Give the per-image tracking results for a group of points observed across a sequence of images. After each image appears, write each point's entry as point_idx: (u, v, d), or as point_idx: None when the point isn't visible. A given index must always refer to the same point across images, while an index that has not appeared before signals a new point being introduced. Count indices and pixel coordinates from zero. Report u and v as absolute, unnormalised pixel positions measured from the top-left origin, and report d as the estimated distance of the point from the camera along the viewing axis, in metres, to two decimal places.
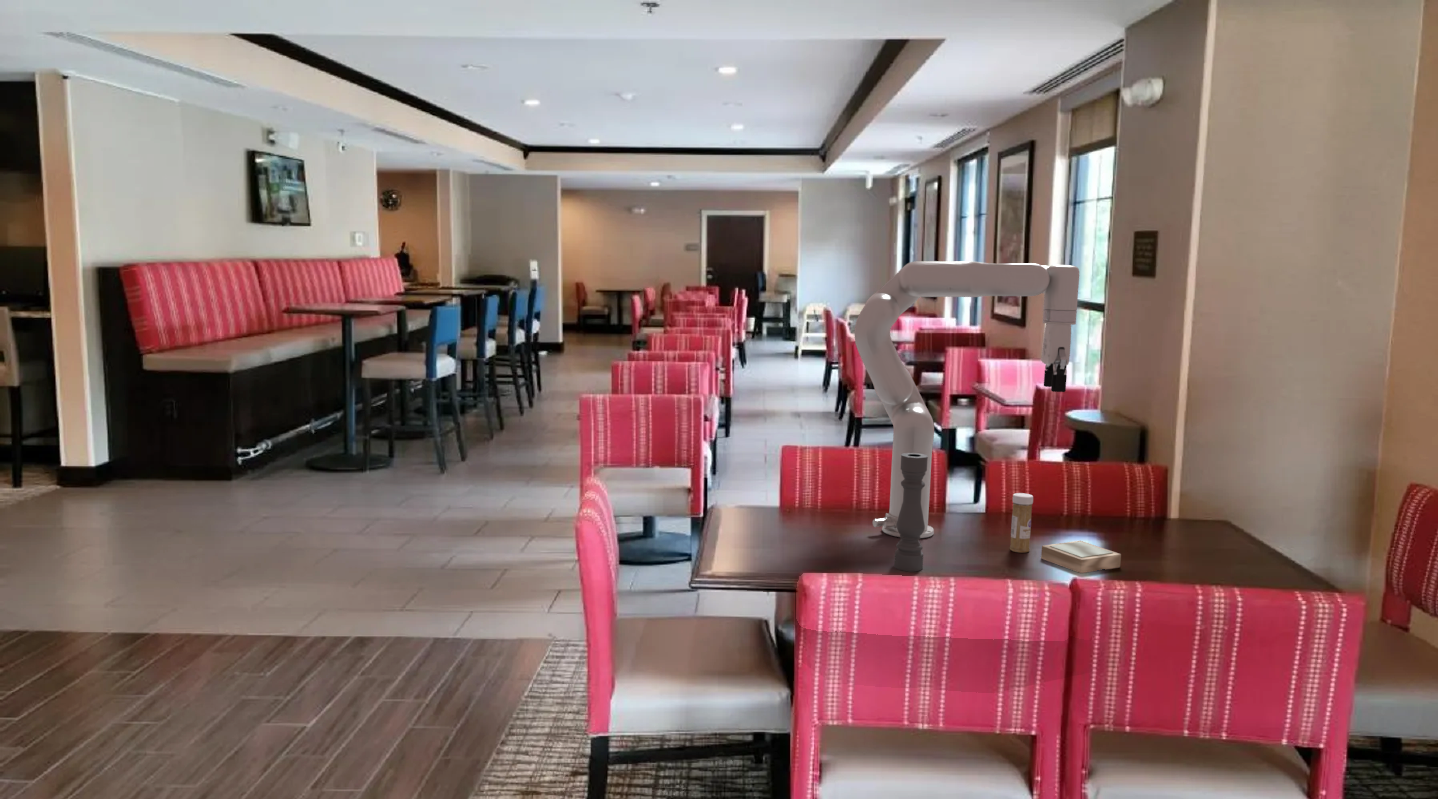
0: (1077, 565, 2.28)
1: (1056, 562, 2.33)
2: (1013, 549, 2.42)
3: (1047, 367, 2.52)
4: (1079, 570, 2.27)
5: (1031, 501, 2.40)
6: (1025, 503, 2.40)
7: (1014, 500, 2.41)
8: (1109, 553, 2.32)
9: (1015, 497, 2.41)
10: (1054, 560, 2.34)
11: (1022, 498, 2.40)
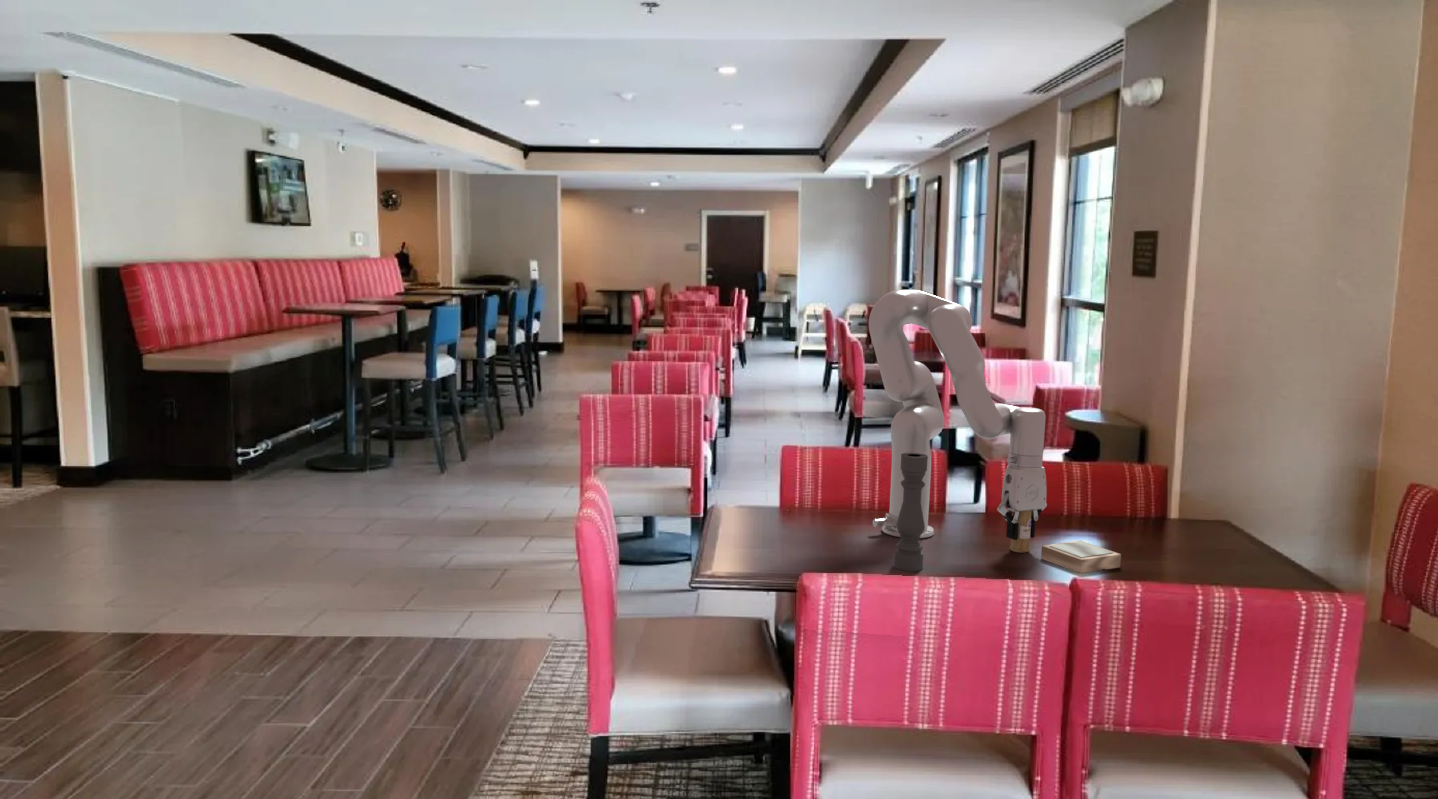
0: (1077, 565, 2.28)
1: (1056, 562, 2.33)
2: (1013, 549, 2.42)
3: None
4: (1079, 570, 2.27)
5: None
6: None
7: None
8: (1109, 553, 2.32)
9: None
10: (1054, 560, 2.34)
11: None
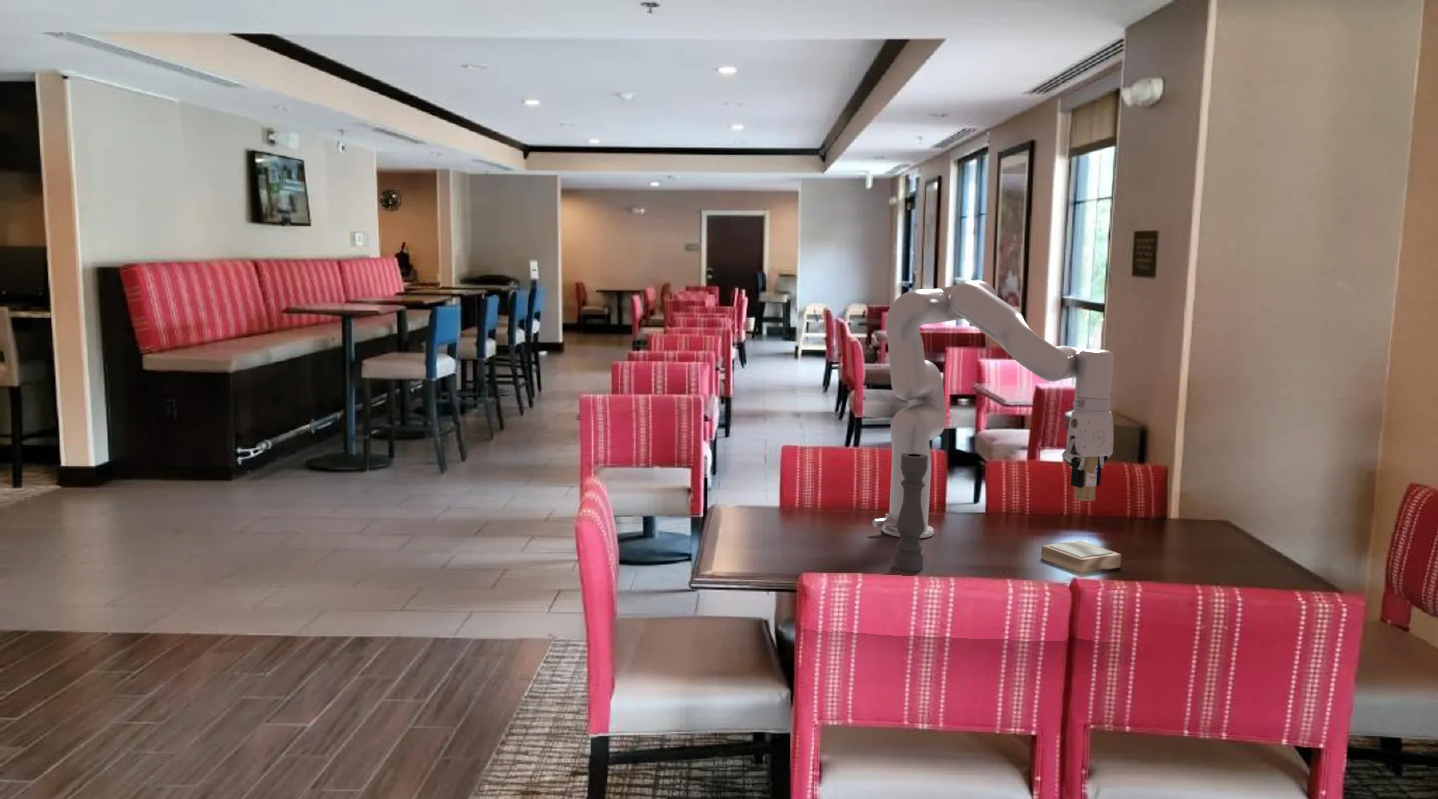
0: (1077, 565, 2.28)
1: (1056, 562, 2.33)
2: (1078, 497, 2.32)
3: None
4: (1079, 570, 2.27)
5: None
6: None
7: None
8: (1109, 553, 2.32)
9: None
10: (1054, 560, 2.34)
11: None
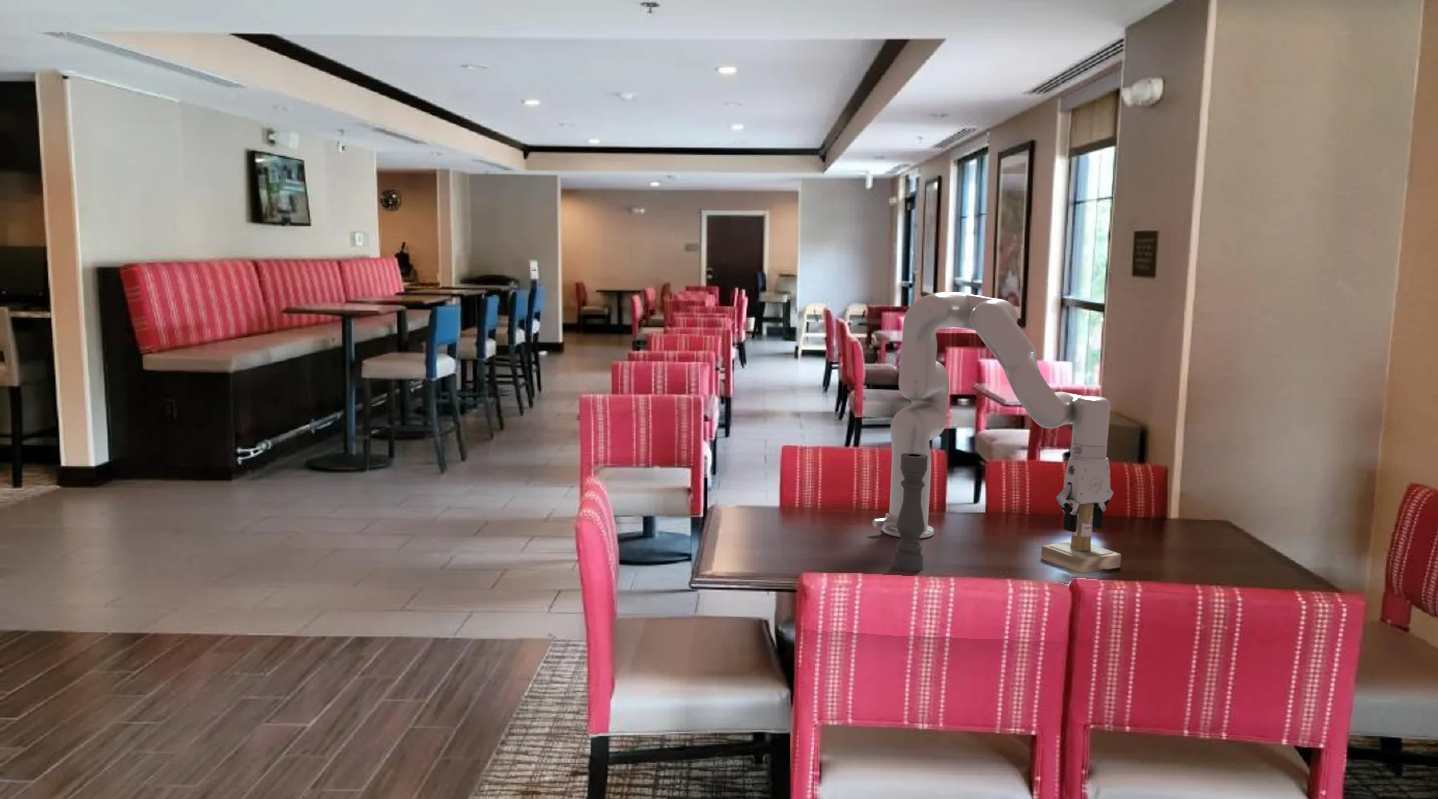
0: (1077, 565, 2.28)
1: (1056, 562, 2.33)
2: (1074, 547, 2.33)
3: None
4: (1079, 570, 2.27)
5: None
6: None
7: None
8: (1109, 553, 2.32)
9: None
10: (1054, 560, 2.34)
11: None
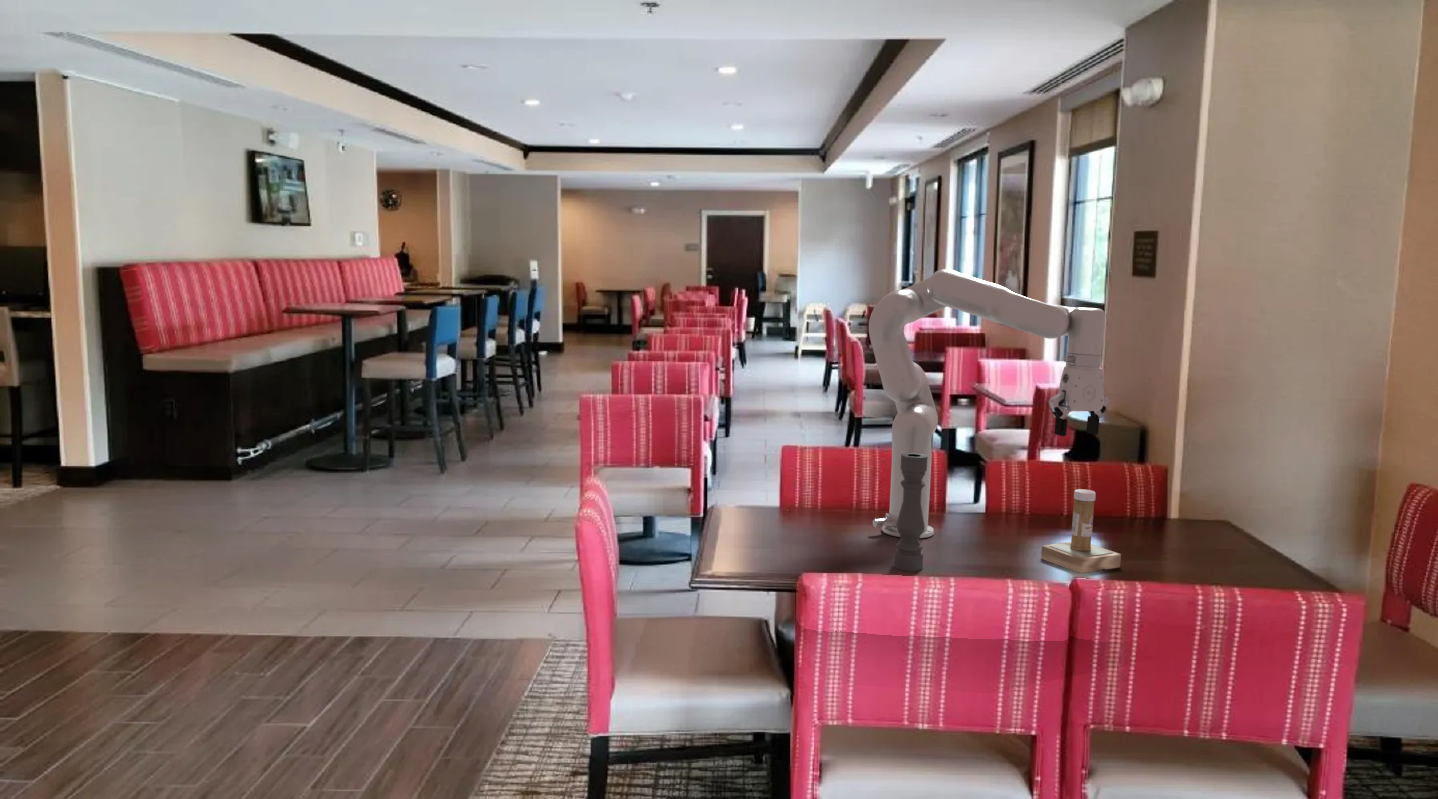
0: (1077, 565, 2.28)
1: (1056, 562, 2.33)
2: (1074, 547, 2.33)
3: None
4: (1079, 570, 2.27)
5: (1094, 498, 2.31)
6: (1088, 500, 2.31)
7: (1076, 496, 2.32)
8: (1109, 553, 2.32)
9: (1077, 493, 2.32)
10: (1054, 560, 2.34)
11: (1084, 494, 2.31)
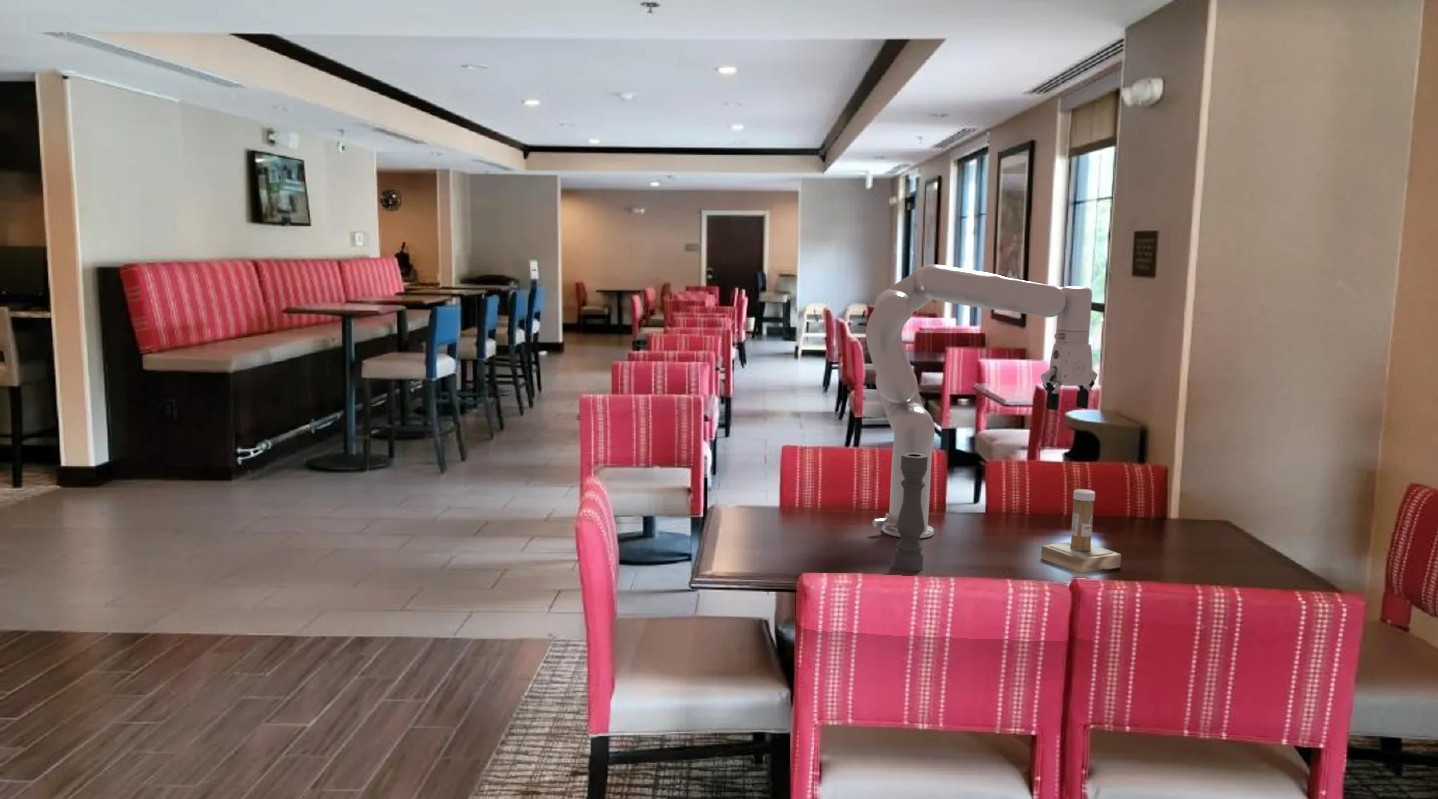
0: (1077, 565, 2.28)
1: (1056, 562, 2.33)
2: (1074, 547, 2.33)
3: None
4: (1079, 570, 2.27)
5: (1093, 497, 2.31)
6: (1087, 499, 2.31)
7: (1075, 496, 2.32)
8: (1109, 553, 2.32)
9: (1076, 493, 2.32)
10: (1054, 560, 2.34)
11: (1084, 494, 2.31)
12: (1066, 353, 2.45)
